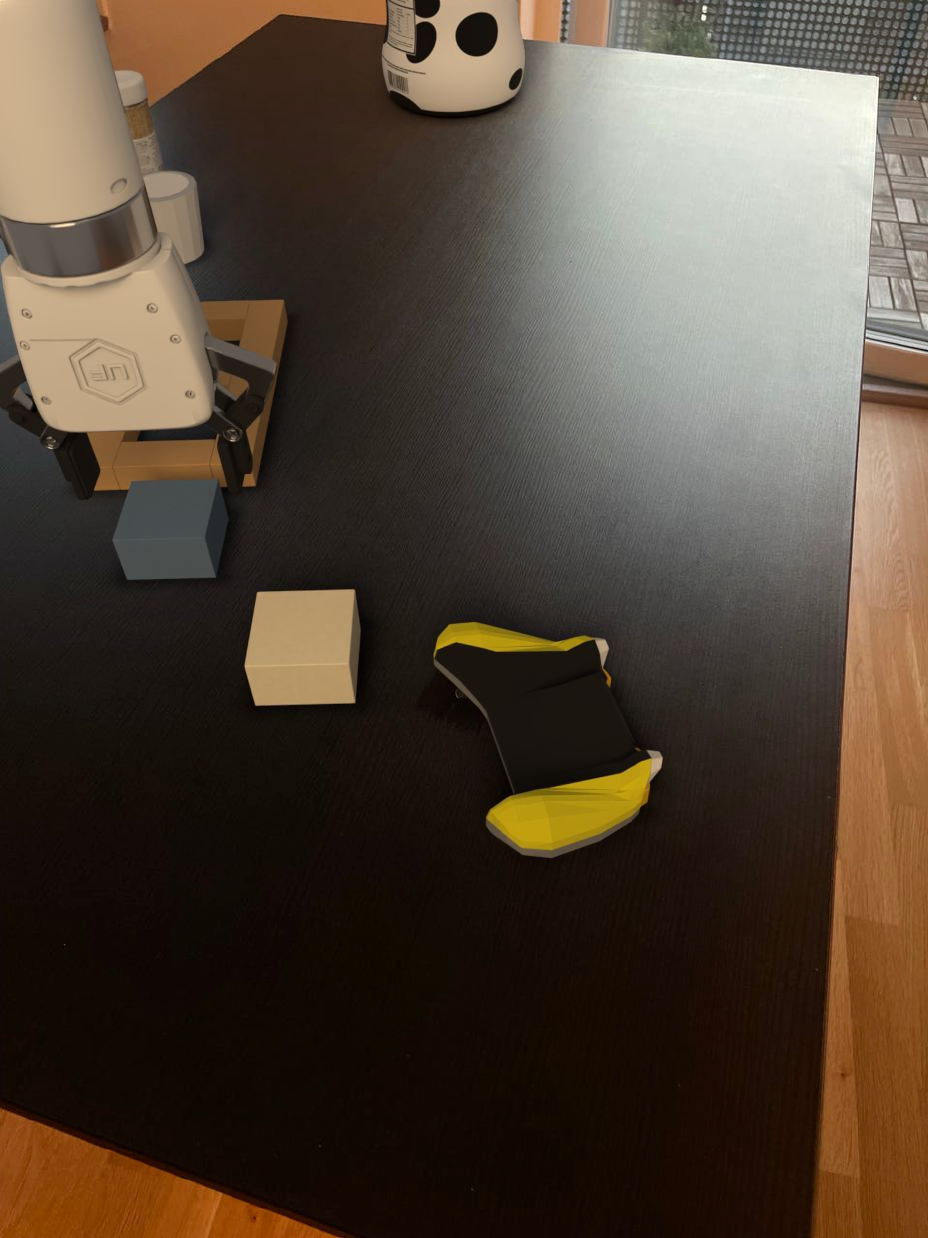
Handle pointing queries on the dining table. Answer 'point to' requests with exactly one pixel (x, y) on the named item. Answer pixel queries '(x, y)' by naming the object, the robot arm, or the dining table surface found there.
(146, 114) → the sprinkles bottle
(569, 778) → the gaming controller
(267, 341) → the frame
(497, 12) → the milk container
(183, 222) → the shot glass
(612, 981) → the dining table surface
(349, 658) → the cream block
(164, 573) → the slate block
